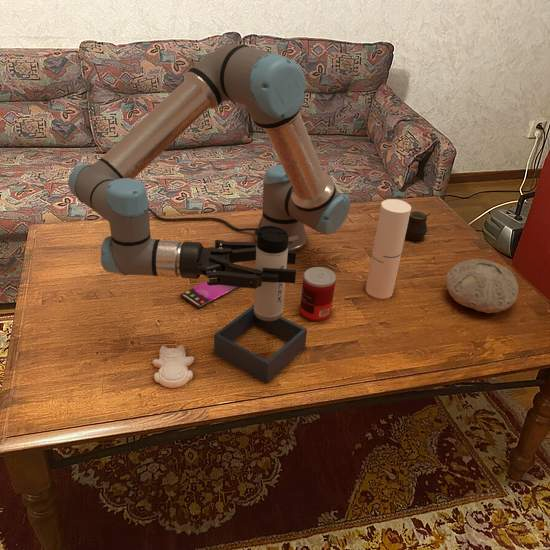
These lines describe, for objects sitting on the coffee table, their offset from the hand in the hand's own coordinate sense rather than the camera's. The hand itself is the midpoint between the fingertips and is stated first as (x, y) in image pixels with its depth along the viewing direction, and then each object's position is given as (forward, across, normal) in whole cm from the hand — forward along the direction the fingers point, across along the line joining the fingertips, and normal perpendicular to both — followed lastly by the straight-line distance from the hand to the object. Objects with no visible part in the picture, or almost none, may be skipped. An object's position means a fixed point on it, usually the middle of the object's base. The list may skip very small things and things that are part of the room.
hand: (295, 267), depth 112 cm
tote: (-6, 0, -23) cm, 24 cm away
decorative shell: (+49, -25, -23) cm, 60 cm away
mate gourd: (+38, -57, -23) cm, 72 cm away
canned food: (+7, -16, -23) cm, 29 cm away
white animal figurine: (-24, +7, -23) cm, 34 cm away
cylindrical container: (+24, -27, -23) cm, 43 cm away
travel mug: (-5, 0, -12) cm, 13 cm away
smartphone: (-20, -21, -23) cm, 37 cm away
